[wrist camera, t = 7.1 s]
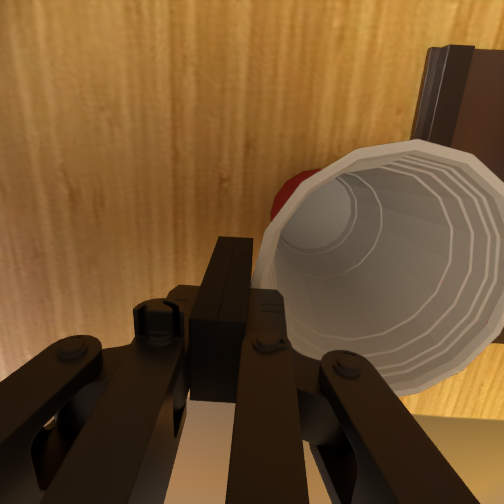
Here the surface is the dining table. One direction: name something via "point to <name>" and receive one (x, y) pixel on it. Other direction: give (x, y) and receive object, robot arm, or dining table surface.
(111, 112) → the dining table surface
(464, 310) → the plastic cup
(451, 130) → the board
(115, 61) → the dining table surface
